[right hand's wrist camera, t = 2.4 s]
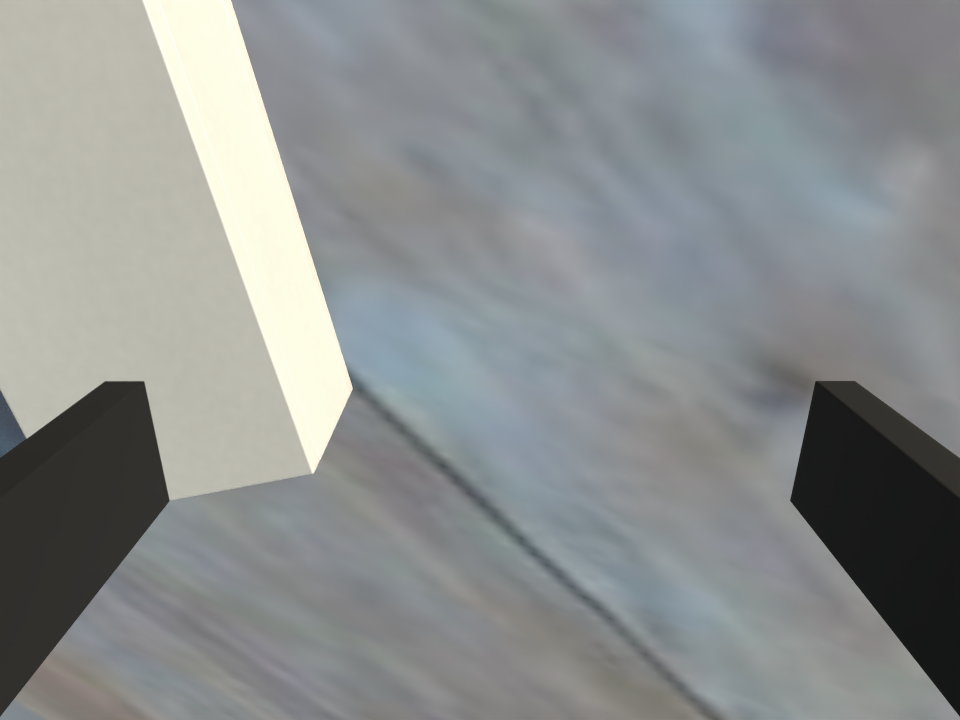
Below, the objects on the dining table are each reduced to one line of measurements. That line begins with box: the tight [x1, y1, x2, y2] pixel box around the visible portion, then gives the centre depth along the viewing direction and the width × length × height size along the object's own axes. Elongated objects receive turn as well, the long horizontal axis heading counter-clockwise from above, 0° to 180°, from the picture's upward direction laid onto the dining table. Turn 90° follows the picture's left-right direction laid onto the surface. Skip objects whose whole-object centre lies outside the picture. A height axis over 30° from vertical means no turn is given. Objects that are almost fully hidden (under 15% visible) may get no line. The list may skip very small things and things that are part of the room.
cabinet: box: [0, 0, 353, 501], centre depth 26 cm, size 21×10×8 cm, turn 12°
